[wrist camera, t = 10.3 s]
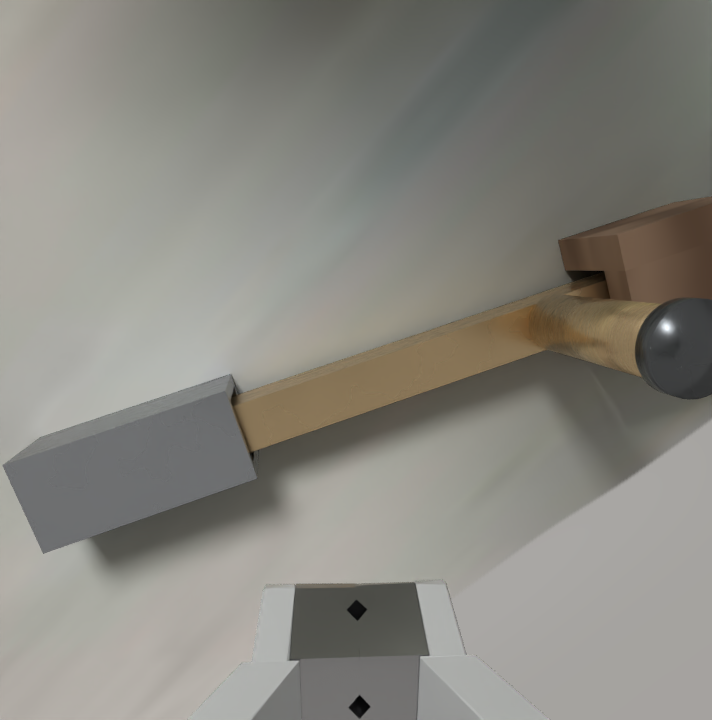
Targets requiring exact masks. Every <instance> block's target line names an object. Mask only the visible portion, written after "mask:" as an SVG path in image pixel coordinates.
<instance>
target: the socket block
mask: <svg viewBox="0 0 712 720" xmlns="http://www.w3.org/2000/svg"><path fill="white" fill-rule="evenodd" d="M558 242H559V246H560V250H561V254H562V259H563V263H564V267H565V270H583V271H604V272H605V276H606V281H607V285H608V290H609V294H610V299H615V300H625V301H636V302H647V303H658V304H663V303H664V302H666V301H669V300H671V299H675V298H681V297H689V298H703V299H710V300H712V196H711V197H705V198H699V199H693V200H686V201H680V202H674V203H670V204H667V205H664V206H661V207H658V208H655V209H652V210H649V211H646V212H643V213H640V214H637V215H634V216H631V217H628V218H625V219H621V220H618V221H615V222H612V223H609V224H606V225H603V226H600V227H597V228H594V229H591V230H588V231H585V232H582V233H579V234H576V235H573V236H570V237H567V238H564V239H561V240H558Z"/></svg>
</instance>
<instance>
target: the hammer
mask: <svg viewBox="0 0 712 720" xmlns="http://www.w3.org/2000/svg"><path fill="white" fill-rule="evenodd" d="M544 350H551V351H554V352H557V353H561V354H564V355H568V356H571V357H574V358H578V359H581V360H585V361H588V362H591V363H595V364H598V365H601V366H605V367H608V368H612V369H615V370H618V371H622V372H625V373H629V374H632V375H635V376H639V377H642V378H643V379H644V380H645V381H646V382H647V383H648V384H649V385H650V386H651V387H653V388H654V389H656V390H658V391H660V392H663V393H666V394H669V395H672V396H675V397H679V398H682V399H699V398H703V397H706V396H708V395H710V394H712V300H710V299H703V298H689V297H681V298H675V299H671V300H669V301H666V302H664V303H663V304H658V303H647V302H636V301H625V300H615V299H610V294H609V290H608V285H607V281H606V276H605V272H601V273H598V274H595V275H592V276H589V277H586V278H583V279H580V280H577V281H574V282H571V283H568V284H565V285H562V286H559V287H556V288H553V289H550V290H547V291H544V292H541V293H538V294H536V295H533V296H530V297H527V298H524V299H521V300H518V301H515V302H512V303H509V304H506V305H503V306H500V307H497V308H494V309H491V310H488V311H485V312H482V313H479V314H476V315H473V316H470V317H467V318H464V319H461V320H458V321H455V322H452V323H449V324H446V325H443V326H440V327H437V328H434V329H431V330H428V331H426V332H423V333H420V334H417V335H414V336H411V337H408V338H405V339H402V340H399V341H396V342H393V343H390V344H387V345H384V346H381V347H378V348H375V349H372V350H369V351H366V352H363V353H360V354H357V355H354V356H351V357H348V358H345V359H342V360H339V361H336V362H333V363H330V364H327V365H324V366H321V367H318V368H315V369H313V370H310V371H307V372H304V373H301V374H298V375H295V376H292V377H289V378H286V379H283V380H280V381H277V382H274V383H271V384H268V385H265V386H262V387H259V388H256V389H253V390H250V391H247V392H244V393H241V394H238V395H235V396H232V397H231V400H230V401H231V404H232V407H233V409H234V412H235V415H236V417H237V420H238V423H239V426H240V428H241V431H242V434H243V436H244V439H245V442H246V445H247V447H248V450H249V453H250V452H253V451H256V450H259V449H262V448H265V447H267V446H270V445H273V444H276V443H279V442H282V441H285V440H288V439H291V438H293V437H296V436H299V435H302V434H305V433H308V432H311V431H314V430H316V429H319V428H322V427H325V426H328V425H331V424H334V423H337V422H340V421H342V420H345V419H348V418H351V417H354V416H357V415H360V414H363V413H366V412H368V411H371V410H374V409H377V408H380V407H383V406H386V405H389V404H392V403H394V402H397V401H400V400H403V399H406V398H409V397H412V396H415V395H417V394H420V393H423V392H426V391H429V390H432V389H435V388H438V387H441V386H443V385H446V384H449V383H452V382H455V381H458V380H461V379H464V378H467V377H469V376H472V375H475V374H478V373H481V372H484V371H487V370H490V369H492V368H495V367H498V366H501V365H504V364H507V363H510V362H513V361H516V360H518V359H521V358H524V357H527V356H530V355H533V354H536V353H539V352H542V351H544Z"/></svg>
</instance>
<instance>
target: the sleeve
mask: <svg viewBox="0 0 712 720" xmlns="http://www.w3.org/2000/svg"><path fill="white" fill-rule="evenodd" d="M235 395H238V392H237V389H236V386H235V384H234V381H233V378H232V375H231V374H229V375H226V376H223V377H220V378H217V379H214V380H211V381H208V382H205V383H202V384H199V385H196V386H193V387H190V388H187V389H184V390H181V391H178V392H175V393H172V394H169V395H166V396H163V397H160V398H157V399H154V400H151V401H148V402H145V403H142V404H139V405H136V406H133V407H130V408H127V409H124V410H121V411H118V412H115V413H112V414H109V415H106V416H103V417H100V418H97V419H94V420H91V421H88V422H85V423H82V424H79V425H76V426H73V427H70V428H67V429H64V430H61V431H58V432H55V433H52V434H49V435H46V436H43V437H40V438H39V439H37V440H36V441H35V442H33V443H32V444H30V445H29V446H28V447H26V448H25V449H24V450H22V451H21V452H20V453H18V454H17V455H16V456H14V457H13V458H12V459H10V460H9V461H8V462H6V463H5V464H4V465H3V467H4V470H5V472H6V474H7V476H8V478H9V480H10V483H11V485H12V487H13V489H14V491H15V493H16V496H17V498H18V500H19V502H20V504H21V506H22V509H23V511H24V513H25V515H26V517H27V519H28V522H29V524H30V526H31V528H32V530H33V532H34V535H35V537H36V539H37V541H38V543H39V545H40V548H41V550H42V552H43V554H44V553H47V552H49V551H52V550H55V549H58V548H61V547H64V546H67V545H69V544H72V543H75V542H78V541H81V540H84V539H86V538H89V537H92V536H95V535H98V534H101V533H104V532H106V531H109V530H112V529H115V528H118V527H121V526H123V525H126V524H129V523H132V522H135V521H138V520H141V519H143V518H146V517H149V516H152V515H155V514H158V513H161V512H163V511H166V510H169V509H172V508H175V507H178V506H180V505H183V504H186V503H189V502H192V501H195V500H198V499H200V498H203V497H206V496H209V495H212V494H215V493H217V492H220V491H223V490H226V489H229V488H232V487H235V486H237V485H240V484H243V483H246V482H249V481H252V480H254V479H257V476H258V456H259V450H256V451H253V452H250V453H249V450H248V447H247V445H246V442H245V439H244V436H243V434H242V431H241V428H240V426H239V423H238V420H237V417H236V415H235V412H234V409H233V407H232V404H231V401H230V400H231V397H232V396H235Z"/></svg>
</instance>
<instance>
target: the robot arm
mask: <svg viewBox="0 0 712 720" xmlns="http://www.w3.org/2000/svg"><path fill="white" fill-rule="evenodd" d="M187 720H550V719H549V718H548V717H547V716H546V715H545V714H543V713H542V712H541V711H540V710H539V709H538V708H536V707H535V706H534V705H533V704H532V703H531V702H529V701H528V700H527V699H526V698H525V697H524V696H523V695H522V694H520V693H519V692H518V691H517V690H516V689H515V688H513V687H512V686H511V685H510V684H509V683H508V682H507V681H505V680H504V679H503V678H502V677H501V676H500V675H499V674H497V673H496V672H495V671H494V670H493V669H492V668H490V667H489V666H488V665H487V664H486V663H485V662H484V661H482V660H481V659H480V658H479V657H478V656H477V655H467V654H466V651H465V647H464V644H463V640H462V637H461V633H460V630H459V627H458V623H457V619H456V616H455V612H454V609H453V605H452V602H451V598H450V595H449V591H448V588H447V584H446V582H445V581H444V580H443V579H442V580H422V581H414V582H392V583H362V584H296V585H295V584H266V585H265V587H264V589H263V593H262V599H261V605H260V611H259V618H258V624H257V630H256V636H255V642H254V649H253V655H252V661H251V662H243V663H241V664H240V665H239V666H238V667H237V668H236V669H235V670H234V671H233V672H232V673H231V674H230V675H229V676H228V677H227V679H226V680H225V681H224V682H223V683H222V684H221V685H220V686H219V687H218V688H217V689H216V690H215V691H214V692H213V693H212V694H211V695H210V696H209V697H208V698H207V699H206V700H205V701H204V702H203V703H202V704H201V705H200V707H199V708H198V709H197V710H196V711H195V712H194V713H193V714H192V715H191V716H190V717H189V718H188V719H187Z"/></svg>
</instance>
